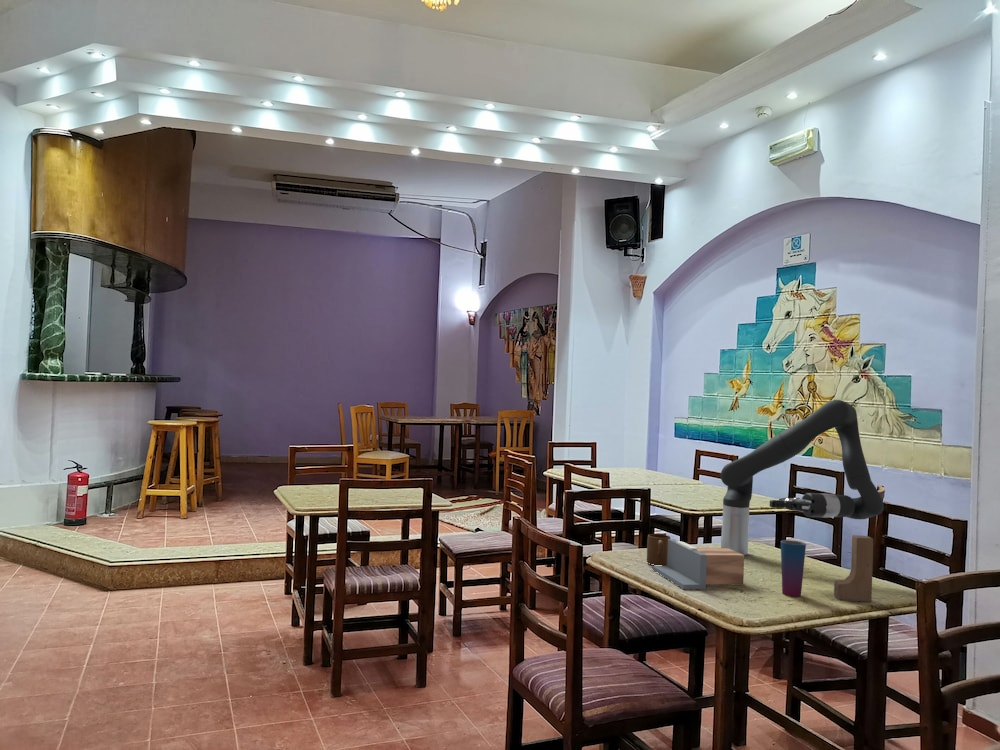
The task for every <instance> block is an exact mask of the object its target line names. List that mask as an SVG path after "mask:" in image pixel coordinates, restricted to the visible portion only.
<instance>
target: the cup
mask: <svg viewBox="0 0 1000 750" xmlns="http://www.w3.org/2000/svg"><path fill="white" fill-rule="evenodd" d="M806 547H807V544H806V542H803V541H799V540H792V539H791V540H789V539H785V540H781V541H780V560H781V561H780V562H781V566H780V567H781V590H782V591H781V592H782V595H784V596H787V597H791V598H792V597H793V598H799V597H801V596H802V589H803V579H804V569H805V568H804V567H805V560H806V558H805V557H806V550H807V549H806Z"/></svg>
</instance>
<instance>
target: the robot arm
mask: <svg viewBox="0 0 1000 750" xmlns="http://www.w3.org/2000/svg"><path fill="white" fill-rule="evenodd" d="M834 428H835V431H836V433H837V435H838V437H839V441H840V444H841V455H842V456H841V457H842V466H843V472H844V476H845V479H846V481H847V485H848V487H849V488H850V489H851V490H853V491H855V490H856V491H857V492H858V494H859V495H860V496H859V497H853V498H852V497H851V496H849V495H846V494H831V493H819V492H818V493H815V492H807V493H804V495H803V496H802V497H793V498H792V497H791V498H790V497H782V498H781V497H780V498H779V499H770V500H769V507H770V508H773V509H784V510H788V511H793V512H794V511H795V512H800V513H803V514H804V515H805V516H806V517H807V518H848V519H852V520H853V519H854V520H867V519H870V518H873V517H877V516H879V515H881V514H883V511H884V500H883V498H882V496H881V494H880V492H879V491H878V489H877V487H876V485H875V484H874V482H873V481H872V478H871V475H870V472H869V469H868V465H867V462H866V458H865V455H864V452H863V448H862V443H861V442H862V441H861V437H860V432H859V431H860V430H859V422H858V415H857V410H856V408H855V407H854V406H853V405H851V404H850V403H849V402H846V401H844V400H843V399H841V400H840V399H832V400H828V401H827V402H826V403H824V404H823V405H821V407H818V409H817V410H815V411H813V413H811V414H809V415H808V416H807V417H806V418H804V419H802V420H801V421H798V422H797V423H795V424H793V425H791V426H790V427H788V428H787V429H784V430H783V431H780V432H779V433H778V434H776V435H774V436H773V437H771V438H769V439H767V441H765V442H764V443H762V444H761V445H760V446H757V448H755V449H754V450H753V451H750V452H749V453H748V454H746V455H744V456H742V457H739V458H738V459H736V460H733V461H732V462H731V461H730V462H729V463H727V464H725V465H724V466H723V468H722V469H721V472H720V480H721V483H723V484H724V485H725V486H727V490H726V494H725V495H724V497H723V500H722V525H721V539H720V541H721V542H720V548H729V549H731V550H733V551H736V552H738V553H740V554H743V555H744V556H746V555H747V556H748V554H749V533H750V532H749V526H750V503H751V501H752V496H753V495H752V494H753V483H754V476H755V475H757V474H758V473H760V472H762V471H764V470H767V469H770V468H772V467H774V466H775V467H776V466H778V465H780V464H783V463H784V462H786V461H788V460H790V459H792V458H793V457H795V456H797V455H798V454H800V453H802V452H803V451H804V450H805V449H806V448H807V447H808V446H810V443H811V442H813V440H814V439H815V438H817V437H818V436H820V435H821V434H824V433H826V432H827V431H829V430H831V429H834Z"/></svg>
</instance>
